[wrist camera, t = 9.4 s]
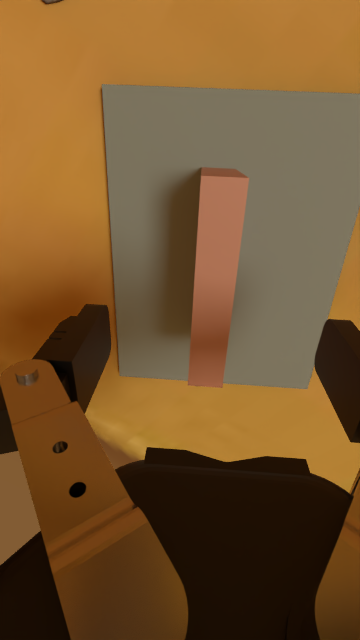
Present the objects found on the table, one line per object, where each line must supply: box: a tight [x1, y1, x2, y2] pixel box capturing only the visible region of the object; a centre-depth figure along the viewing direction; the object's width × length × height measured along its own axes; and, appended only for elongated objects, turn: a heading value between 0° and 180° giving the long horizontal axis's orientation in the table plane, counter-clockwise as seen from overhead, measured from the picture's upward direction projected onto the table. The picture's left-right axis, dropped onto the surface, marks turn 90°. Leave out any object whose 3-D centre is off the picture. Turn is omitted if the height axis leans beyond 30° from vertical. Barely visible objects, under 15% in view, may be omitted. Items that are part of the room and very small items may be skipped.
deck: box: [188, 167, 249, 388], centre depth 17 cm, size 10×2×6 cm, turn 178°
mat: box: [102, 84, 360, 389], centre depth 20 cm, size 18×14×1 cm
